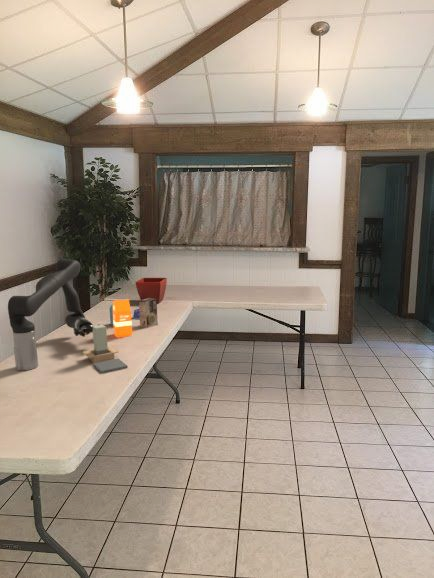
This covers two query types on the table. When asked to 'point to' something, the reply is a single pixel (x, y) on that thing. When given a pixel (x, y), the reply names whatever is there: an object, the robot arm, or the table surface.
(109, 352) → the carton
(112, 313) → the data package
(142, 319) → the coffee box
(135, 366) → the table surface
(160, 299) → the plant pot
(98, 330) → the box
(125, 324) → the orange juice
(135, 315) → the pudding
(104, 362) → the slate mat
